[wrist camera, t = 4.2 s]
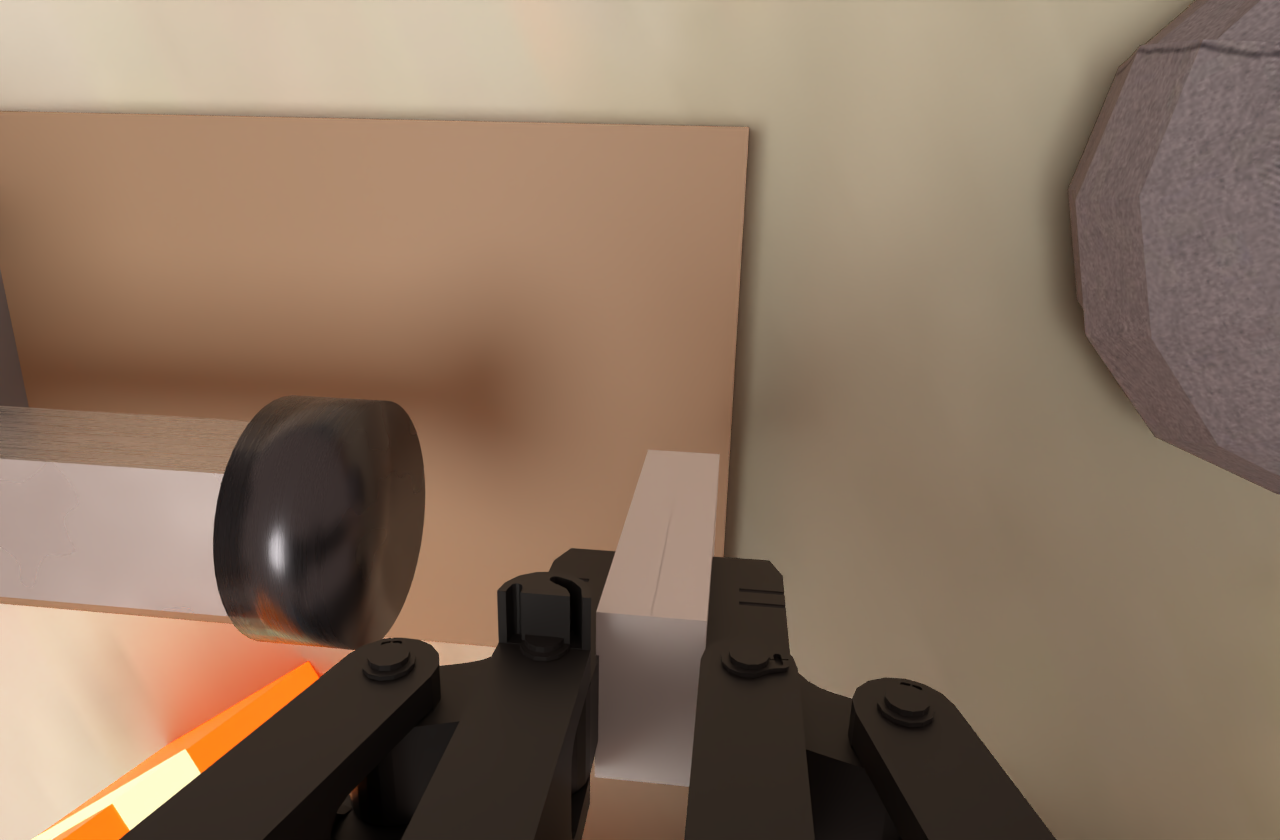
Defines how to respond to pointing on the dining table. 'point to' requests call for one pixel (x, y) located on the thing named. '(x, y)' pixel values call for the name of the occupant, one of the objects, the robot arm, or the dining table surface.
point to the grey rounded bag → (1190, 234)
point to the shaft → (219, 515)
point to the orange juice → (175, 765)
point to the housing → (393, 306)
